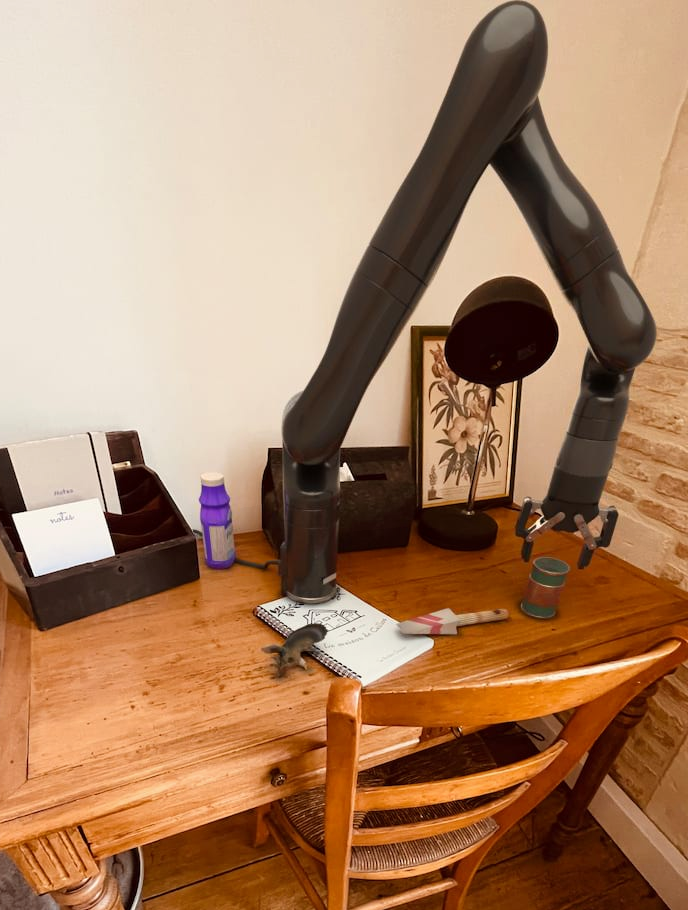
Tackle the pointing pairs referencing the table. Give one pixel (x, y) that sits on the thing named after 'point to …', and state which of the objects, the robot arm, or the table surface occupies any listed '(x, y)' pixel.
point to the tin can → (544, 587)
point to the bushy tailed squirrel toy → (296, 646)
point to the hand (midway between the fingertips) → (552, 563)
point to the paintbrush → (448, 621)
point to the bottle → (216, 521)
